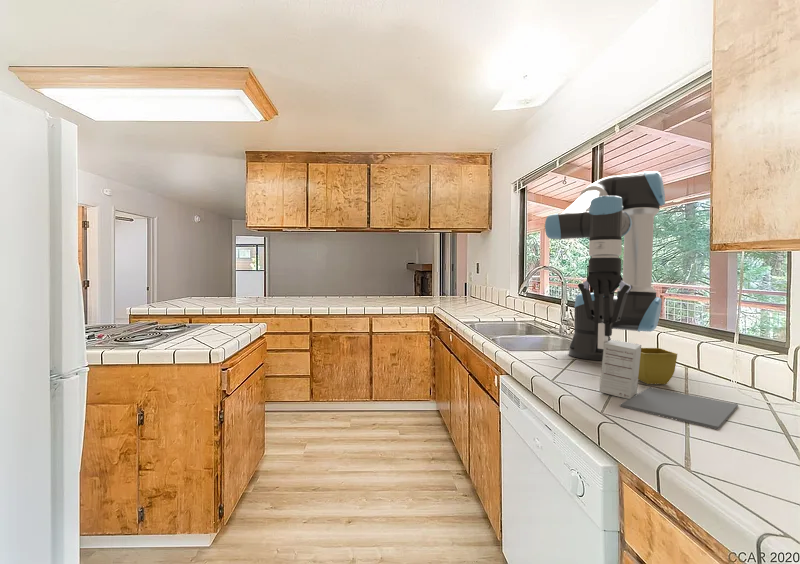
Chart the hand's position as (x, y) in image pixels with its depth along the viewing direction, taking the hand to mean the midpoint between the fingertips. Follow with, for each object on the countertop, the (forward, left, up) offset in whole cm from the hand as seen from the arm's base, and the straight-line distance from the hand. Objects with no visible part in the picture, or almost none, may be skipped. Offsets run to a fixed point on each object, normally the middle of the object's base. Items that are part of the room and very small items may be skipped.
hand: (602, 348), depth 106 cm
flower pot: (-18, +6, -11) cm, 22 cm away
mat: (0, +17, -11) cm, 20 cm away
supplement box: (0, +4, -11) cm, 12 cm away
